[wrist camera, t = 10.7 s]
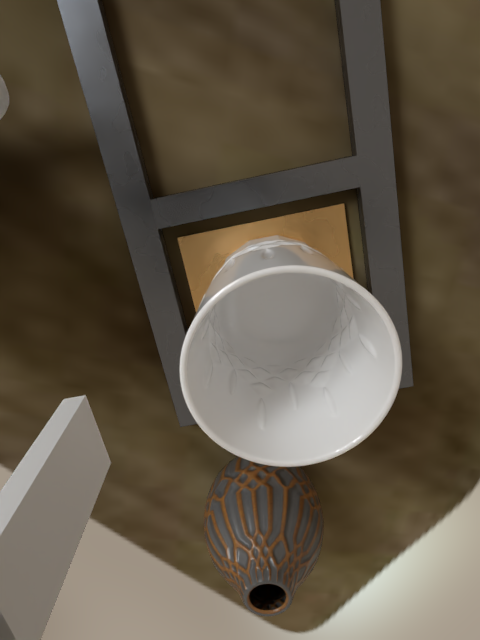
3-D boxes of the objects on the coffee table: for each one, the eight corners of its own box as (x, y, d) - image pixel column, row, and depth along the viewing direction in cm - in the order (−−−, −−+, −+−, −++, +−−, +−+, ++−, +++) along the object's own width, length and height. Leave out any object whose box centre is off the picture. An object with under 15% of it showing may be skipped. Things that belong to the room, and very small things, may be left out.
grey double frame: (45, -61, 20) (34, -74, 19) (360, -144, 19) (367, -163, 18) (182, 417, 29) (179, 428, 27) (407, 378, 27) (414, 387, 26)
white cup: (258, 383, 27) (266, 501, 18) (174, 281, 25) (133, 354, 16) (370, 307, 26) (443, 395, 16) (290, 192, 24) (321, 216, 14)
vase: (318, 512, 31) (346, 641, 23) (218, 525, 31) (210, 656, 23) (306, 425, 29) (332, 534, 20) (199, 441, 29) (182, 554, 21)
